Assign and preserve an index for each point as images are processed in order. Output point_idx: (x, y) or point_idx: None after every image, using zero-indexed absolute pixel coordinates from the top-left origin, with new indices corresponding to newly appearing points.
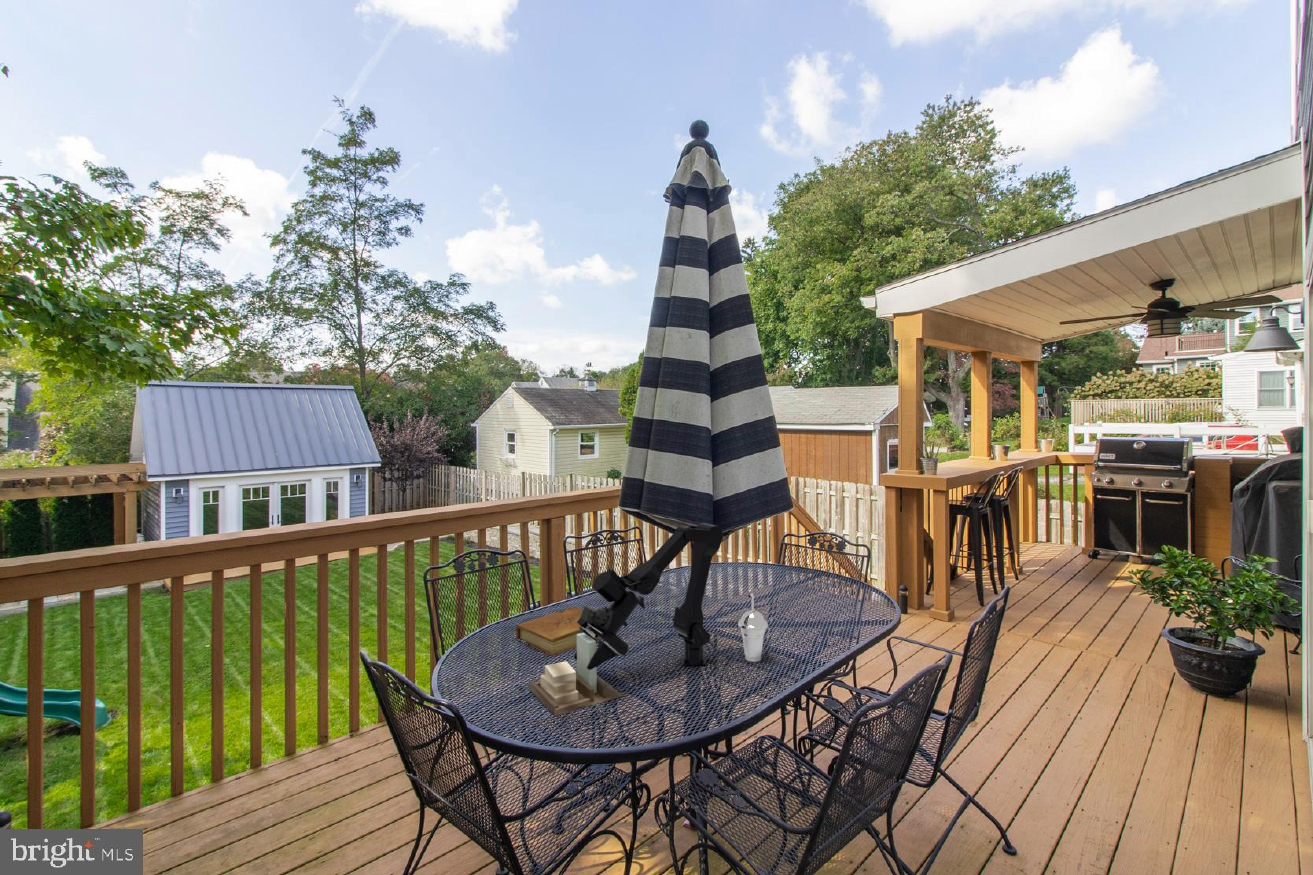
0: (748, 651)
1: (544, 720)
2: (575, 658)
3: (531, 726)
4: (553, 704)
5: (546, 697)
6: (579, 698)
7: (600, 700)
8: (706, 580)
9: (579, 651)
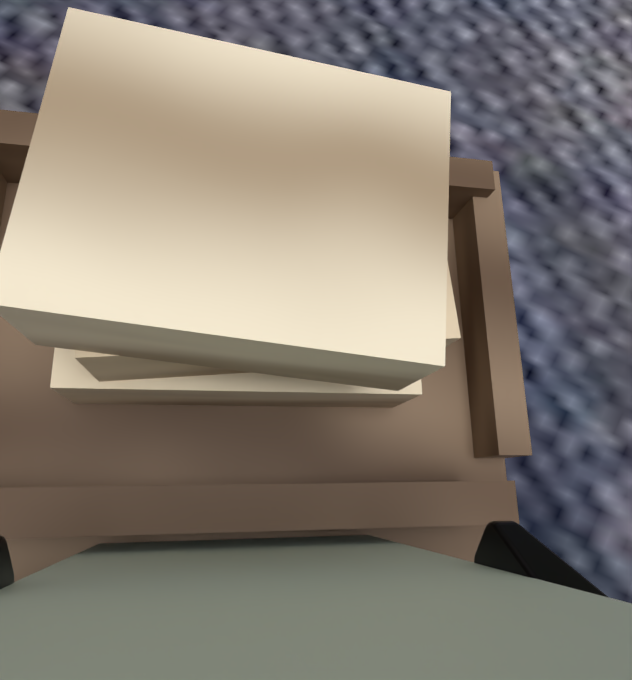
0: None
1: (37, 109)
2: (482, 538)
3: (23, 20)
4: (15, 121)
5: None
6: (119, 437)
7: None
8: None
9: (456, 599)
